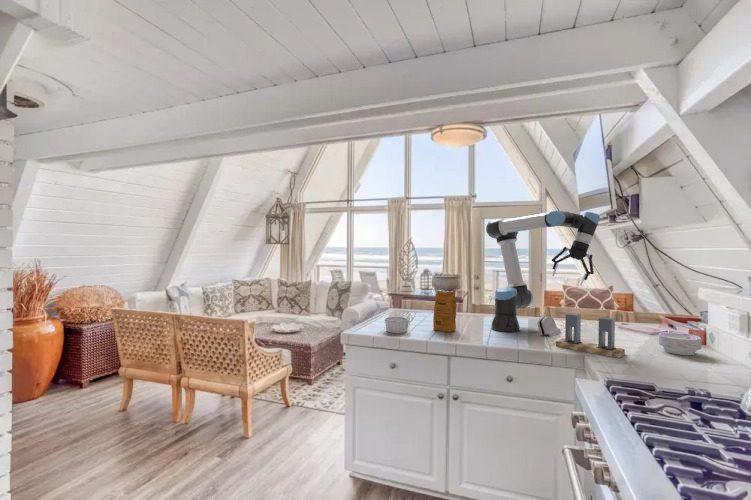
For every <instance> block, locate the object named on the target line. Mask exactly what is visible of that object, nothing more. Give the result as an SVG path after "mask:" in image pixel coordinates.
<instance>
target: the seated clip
mask: <svg viewBox="0 0 751 500" xmlns="http://www.w3.org/2000/svg"><path fill="white" fill-rule="evenodd" d="M581 317H582V314H580V313H573V312H568V313H566V314H565V322H564V323H565V328H564V329H565V330H564V332H565V334H564V336H565V337H564V338H565V342H567V343H571V342H572V340H573V344H580V341H581V332H582V331H581V328H582V321H581V320H582V318H581Z"/></svg>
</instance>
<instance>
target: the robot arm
mask: <svg viewBox="0 0 751 500" xmlns="http://www.w3.org/2000/svg"><path fill="white" fill-rule="evenodd" d="M600 219H601V216H600V214H598V213H595V212H591V211H585V212H584V214H578V213H574V212H569V211H564V210H561V211H560V210H552V211H549V212H545V213H537V214H533V215H528V216H526V215H525V216H521V217H516V218H514V217H513V218H509V219H506V218H499V219H498V218H495V219H492V220H490V221H489V222H488V223H487V224H486V228H485V231H486V234H487V235H488V236H489V237H490V238H492V239H496V244H497V245H499V246H500V252H501V255H502V260H503V265H504V271H505V275H506V279H507V286H505V287H499V288H497V289H495V294H494V316H493V319H492V323H491V329H492V330H494V331H497V332H502V333H503V332H504V333H515V332H520V331H521V329H520V327H521V325H520V323H519V320H518V317H517V310H522V309H526V308H527V307H529V306H530V305H532V303H533V300H534V297H533V295H534V294H533V293H532V291H531V290H530V289H528V284H527V283H526V282H525V281H524V280H523V275H522V269H521V266H520V260H519V256H518V250H517V246H516V242H517V240H518V238H517V236H518V234H519V232H525V231H531V230H538V229H545V228H554V227H564V228H565V227H568V228H572V229H576V230H577V232H576V234H575V235H574V240H573V242H572V244H571V247H570V248H568V247H566V246H564V247H563V248H562V250H561V251H560V252H559V253H558V254H556V255H555V256H553V258H552V259H551V261H552V262H553V266H552V270H553V272H552V277H554V276H555V274H556V271H557V269H558V266H559V263H561V262H562V261H564V260H567V259H568V258H571V259H574V260H577V261H579V260H580V262H581V264H582V266H583V268H584V271H585V272H586V273H584V274H583V276H582V279H581V282H580V283H579V286H580V287H581V286H583V283H584V281H587V280H588V277H589V276H590V275H594V266H593V254H587V252H588V250H589V248H590V244H591V242H592V240H593V238H594V234H595V232H596V230H597V227H598V225H599V222H600ZM566 252H569V254H567V255H565V256H563V257H561V258H559V257H560V256H562V255H563V254H565V253H566ZM558 258H559V259H558ZM584 258H587V259H588V263H589V268H588V267H587V264H586V262H585V259H584ZM557 259H558V260H557ZM589 270H590V271H589Z"/></svg>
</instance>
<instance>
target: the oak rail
mask: <svg viewBox="0 0 751 500" xmlns="http://www.w3.org/2000/svg"><path fill="white" fill-rule="evenodd" d="M555 347H559V348H564V349H569V350H574V351H575V350H576V351H578V352H583V353H584V352H585V353H591V354H594V355H595V354H596V355H600V356H605V357H611V358H616V359H621V358H622V357H623V356H624V355H625V354H626V351H625V350H626V349H625V348H621V347H614V350H613V351H611V350H608V345H605V348H604V349H600V348H598V343H593V342H587V341H582V340H580V344H573V339H572V342H571V343H567V342H565V337H563V338H560V339H558V340H555Z"/></svg>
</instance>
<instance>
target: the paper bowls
mask: <svg viewBox="0 0 751 500" xmlns="http://www.w3.org/2000/svg"><path fill="white" fill-rule="evenodd" d="M657 337H658V339H657V340H658V345H660V346H662V348H663V349H664V350H665V352H667V353H670V354H673V355H678V356H693V355H695V354H696V352H697V351H700V350H702V348H703V346H702V345H703V344H702V341H703V339H702V337H700V336H698V335H695V334H691V333H690V334H689V333H684V332H673V331H669V332H668V331H667V332H665V331H664V332H659V333H658V335H657Z"/></svg>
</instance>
